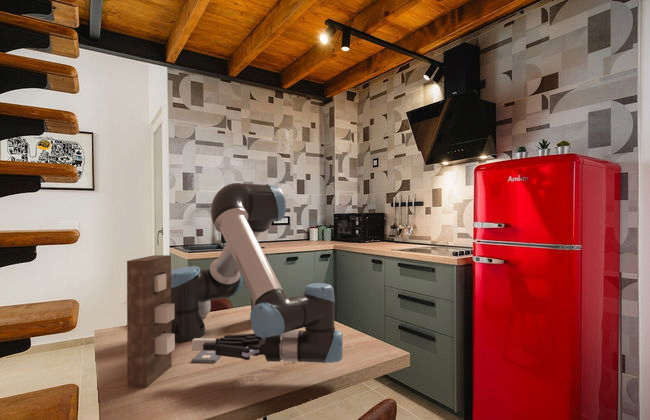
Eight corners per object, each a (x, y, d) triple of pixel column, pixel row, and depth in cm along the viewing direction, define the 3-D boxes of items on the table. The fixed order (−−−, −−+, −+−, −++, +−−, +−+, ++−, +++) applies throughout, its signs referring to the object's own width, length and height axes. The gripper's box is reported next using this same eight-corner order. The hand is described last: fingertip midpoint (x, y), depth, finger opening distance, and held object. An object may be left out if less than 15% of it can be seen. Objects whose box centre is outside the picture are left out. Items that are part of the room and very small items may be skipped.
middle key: (174, 318, 95) (174, 303, 95) (166, 323, 91) (166, 307, 91) (160, 318, 95) (160, 303, 95) (151, 323, 91) (151, 307, 91)
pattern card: (227, 349, 111) (227, 346, 111) (215, 362, 101) (215, 359, 101) (206, 348, 111) (206, 345, 111) (191, 362, 101) (191, 358, 102)
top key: (166, 288, 95) (166, 273, 95) (158, 291, 91) (158, 276, 91) (152, 288, 95) (151, 273, 95) (143, 291, 91) (143, 276, 91)
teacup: (201, 322, 140) (201, 301, 140) (177, 320, 142) (177, 300, 142) (219, 312, 154) (218, 293, 154) (196, 311, 156) (196, 293, 156)
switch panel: (171, 366, 99) (170, 255, 99) (146, 387, 87) (146, 260, 87) (154, 365, 99) (153, 255, 100) (127, 386, 87) (126, 260, 88)
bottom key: (174, 348, 95) (174, 333, 95) (166, 354, 91) (166, 338, 91) (160, 348, 95) (160, 333, 95) (151, 354, 91) (151, 338, 91)
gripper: (277, 371, 84) (181, 369, 86) (287, 350, 97) (203, 349, 99) (277, 340, 84) (181, 338, 86) (286, 323, 97) (203, 322, 99)
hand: (193, 344), depth 92 cm, fingers closed
